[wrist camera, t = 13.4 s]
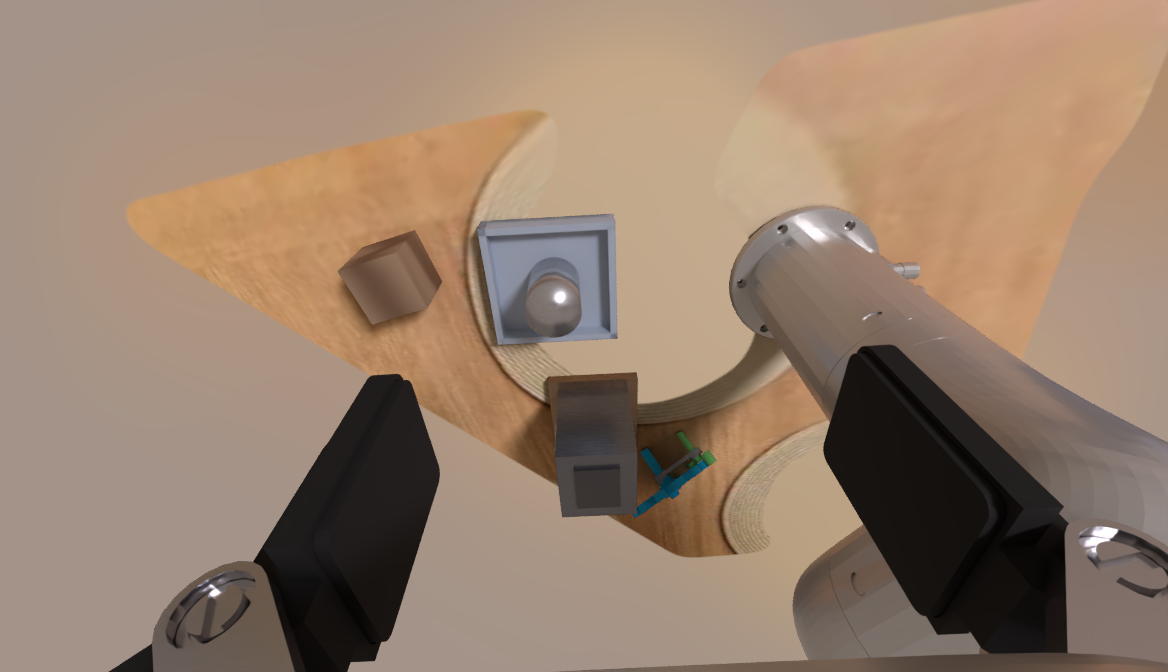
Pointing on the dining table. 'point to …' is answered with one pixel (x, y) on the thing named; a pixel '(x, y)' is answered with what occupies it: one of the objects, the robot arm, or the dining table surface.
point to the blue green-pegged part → (663, 477)
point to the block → (391, 277)
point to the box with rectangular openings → (595, 443)
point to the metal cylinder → (553, 298)
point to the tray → (532, 240)
